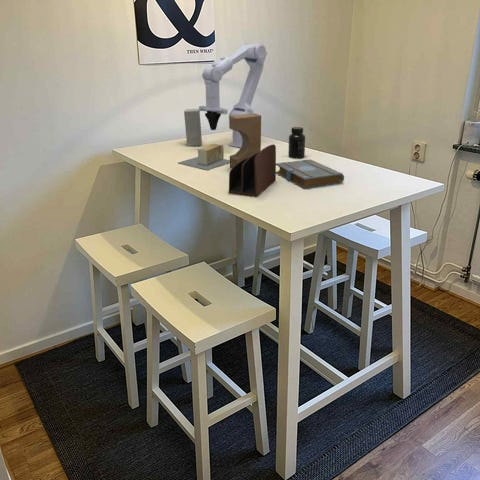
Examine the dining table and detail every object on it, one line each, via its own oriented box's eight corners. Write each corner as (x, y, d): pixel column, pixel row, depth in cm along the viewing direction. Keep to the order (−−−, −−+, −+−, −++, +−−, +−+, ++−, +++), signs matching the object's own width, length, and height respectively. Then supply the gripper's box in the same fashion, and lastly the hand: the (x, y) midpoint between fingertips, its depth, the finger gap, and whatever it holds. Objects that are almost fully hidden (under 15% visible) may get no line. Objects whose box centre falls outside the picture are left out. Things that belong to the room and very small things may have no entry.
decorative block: (235, 171, 182) (235, 117, 174) (229, 167, 187) (228, 115, 179) (261, 167, 187) (262, 115, 179) (254, 164, 192) (254, 113, 183)
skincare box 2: (224, 158, 198) (207, 166, 188) (215, 157, 200) (198, 165, 190) (223, 143, 195) (206, 150, 186) (214, 142, 197) (197, 149, 188)
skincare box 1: (200, 146, 219) (199, 110, 212) (185, 146, 219) (183, 110, 213) (202, 142, 227) (201, 107, 220) (187, 142, 227) (185, 107, 220)
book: (343, 184, 169) (344, 170, 167) (303, 190, 163) (303, 176, 161) (311, 169, 187) (312, 156, 185) (273, 174, 180) (274, 161, 178)
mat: (204, 155, 204) (204, 154, 204) (233, 161, 195) (233, 161, 195) (177, 163, 193) (177, 162, 193) (206, 170, 184) (206, 169, 183)
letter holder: (275, 180, 172) (277, 141, 166) (256, 198, 155) (257, 155, 150) (249, 177, 176) (250, 139, 170) (228, 194, 159) (227, 152, 153)
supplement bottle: (304, 154, 205) (305, 126, 200) (304, 158, 199) (306, 129, 194) (288, 154, 206) (289, 126, 201) (288, 158, 200) (289, 129, 195)
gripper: (193, 96, 203) (194, 128, 208) (219, 99, 194) (219, 133, 200) (204, 94, 208) (205, 126, 213) (230, 97, 199) (230, 130, 205)
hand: (213, 129), depth 207 cm, fingers closed
